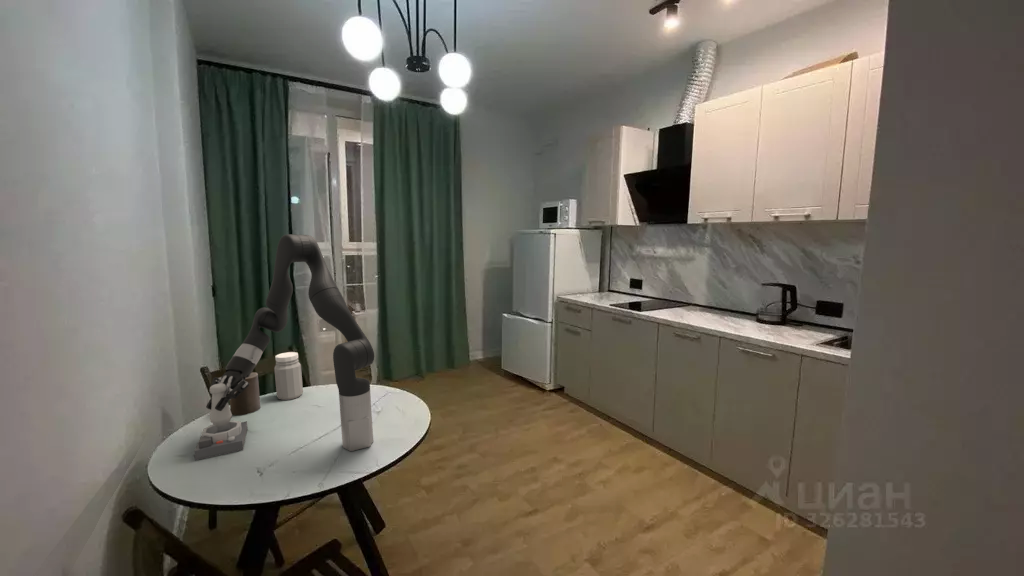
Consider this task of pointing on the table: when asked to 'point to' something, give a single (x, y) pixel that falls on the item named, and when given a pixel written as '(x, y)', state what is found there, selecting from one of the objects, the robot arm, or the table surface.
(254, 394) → the pillar candle
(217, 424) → the salt shaker
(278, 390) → the jar
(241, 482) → the table surface
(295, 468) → the table surface
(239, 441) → the octagon ring base
